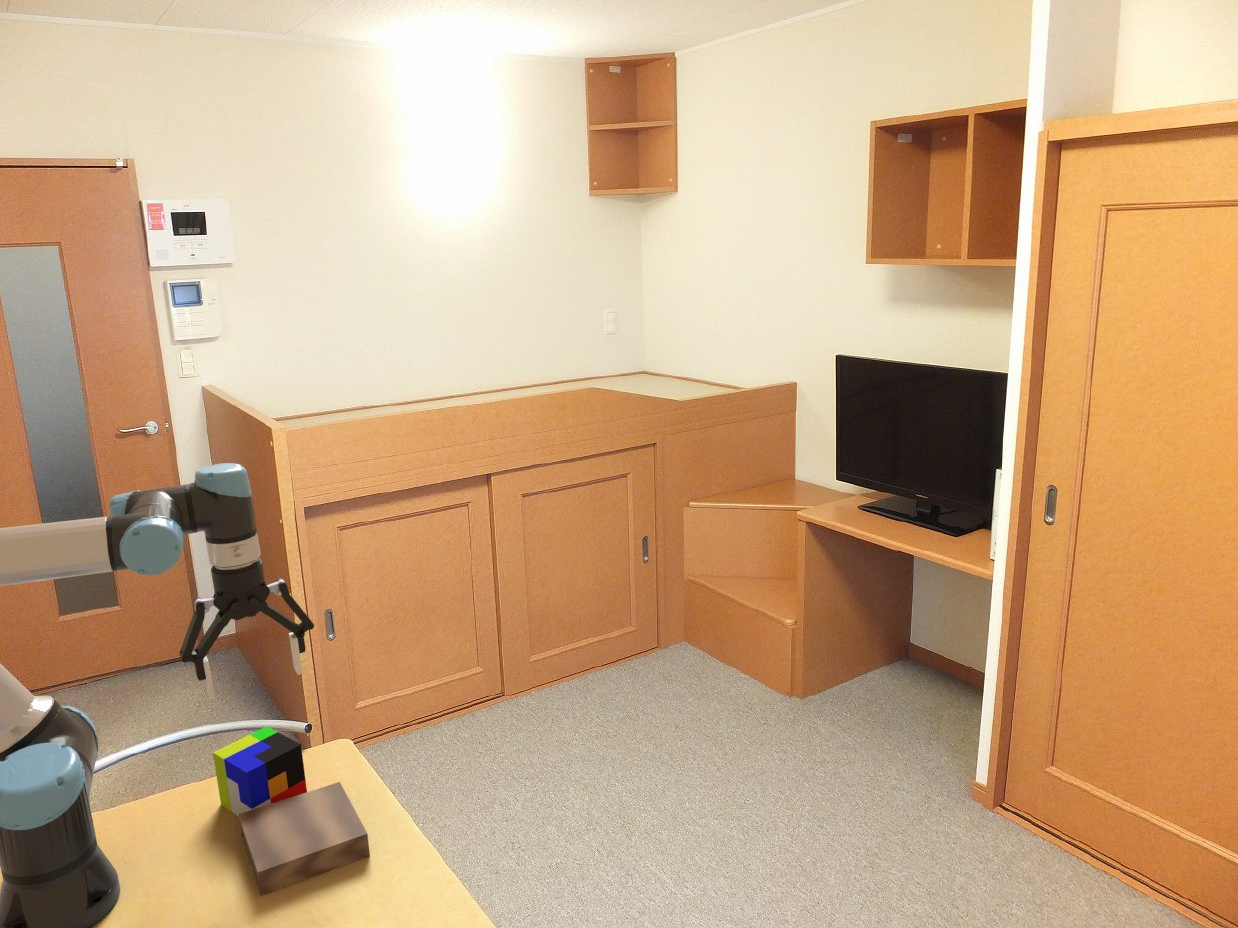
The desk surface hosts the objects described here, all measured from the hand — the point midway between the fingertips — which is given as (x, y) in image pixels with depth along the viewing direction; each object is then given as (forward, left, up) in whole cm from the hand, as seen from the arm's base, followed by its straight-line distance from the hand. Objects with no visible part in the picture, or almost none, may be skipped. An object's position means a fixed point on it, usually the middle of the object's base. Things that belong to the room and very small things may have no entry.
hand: (255, 683), depth 151 cm
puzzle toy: (-1, +1, -22) cm, 22 cm away
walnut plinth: (+2, -15, -22) cm, 27 cm away
